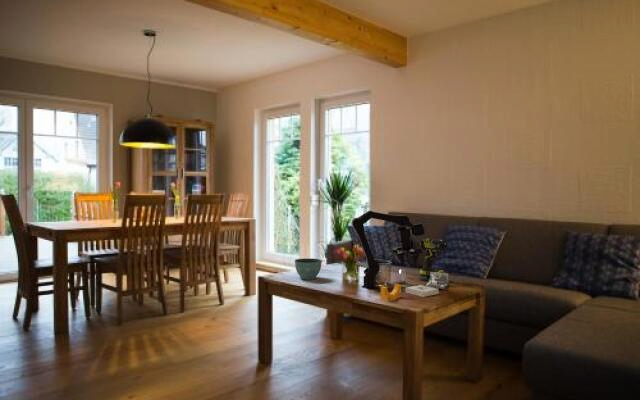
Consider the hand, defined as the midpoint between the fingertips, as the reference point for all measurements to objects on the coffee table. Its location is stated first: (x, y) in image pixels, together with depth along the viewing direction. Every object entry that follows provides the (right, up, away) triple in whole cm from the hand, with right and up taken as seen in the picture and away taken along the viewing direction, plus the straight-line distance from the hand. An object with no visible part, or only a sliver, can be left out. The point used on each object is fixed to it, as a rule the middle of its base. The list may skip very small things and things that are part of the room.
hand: (409, 266), depth 260 cm
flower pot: (-56, -11, +21) cm, 61 cm away
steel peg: (-4, -12, -1) cm, 13 cm away
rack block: (+4, -13, -12) cm, 18 cm away
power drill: (+19, -12, +22) cm, 31 cm away
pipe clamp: (-13, -13, -25) cm, 31 cm away
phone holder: (+16, -13, +3) cm, 20 cm away
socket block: (-4, -12, -1) cm, 13 cm away
